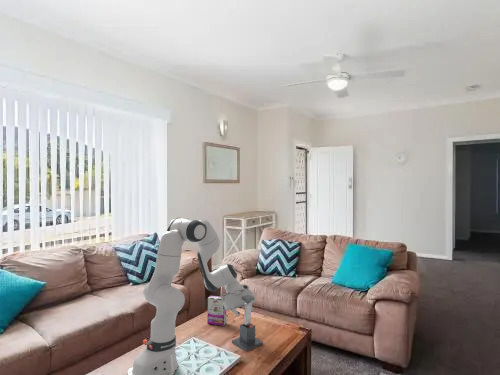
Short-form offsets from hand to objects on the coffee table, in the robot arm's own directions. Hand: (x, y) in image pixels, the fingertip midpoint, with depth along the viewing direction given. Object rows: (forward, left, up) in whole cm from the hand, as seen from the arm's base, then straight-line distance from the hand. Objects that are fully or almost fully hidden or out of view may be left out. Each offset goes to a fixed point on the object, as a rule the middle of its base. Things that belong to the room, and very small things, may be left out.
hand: (245, 313), depth 178 cm
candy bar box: (+2, +30, -16) cm, 34 cm away
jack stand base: (0, -2, -16) cm, 16 cm away
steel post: (0, -2, -14) cm, 14 cm away
